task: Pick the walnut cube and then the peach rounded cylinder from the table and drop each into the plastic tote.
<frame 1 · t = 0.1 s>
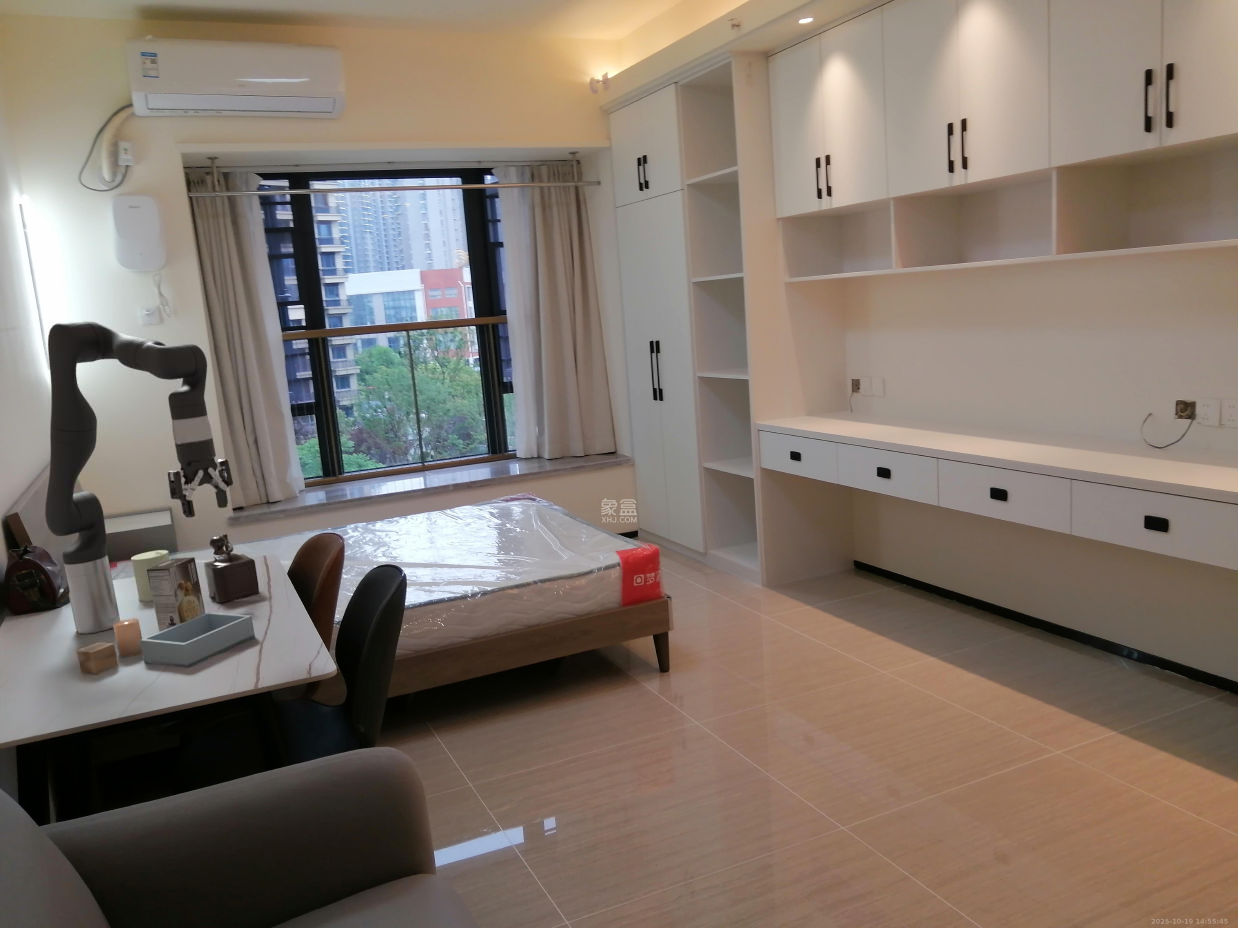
hand: (206, 512, 201), 29 cm above the table, fingers open, 8 cm apart
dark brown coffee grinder: (236, 598, 241), on the table
peach rounded cylinder: (131, 652, 204), on the table
tote: (201, 649, 202), on the table
can: (157, 596, 251), on the table
coffee box: (183, 629, 219), on the table
walnut cube: (99, 669, 196), on the table
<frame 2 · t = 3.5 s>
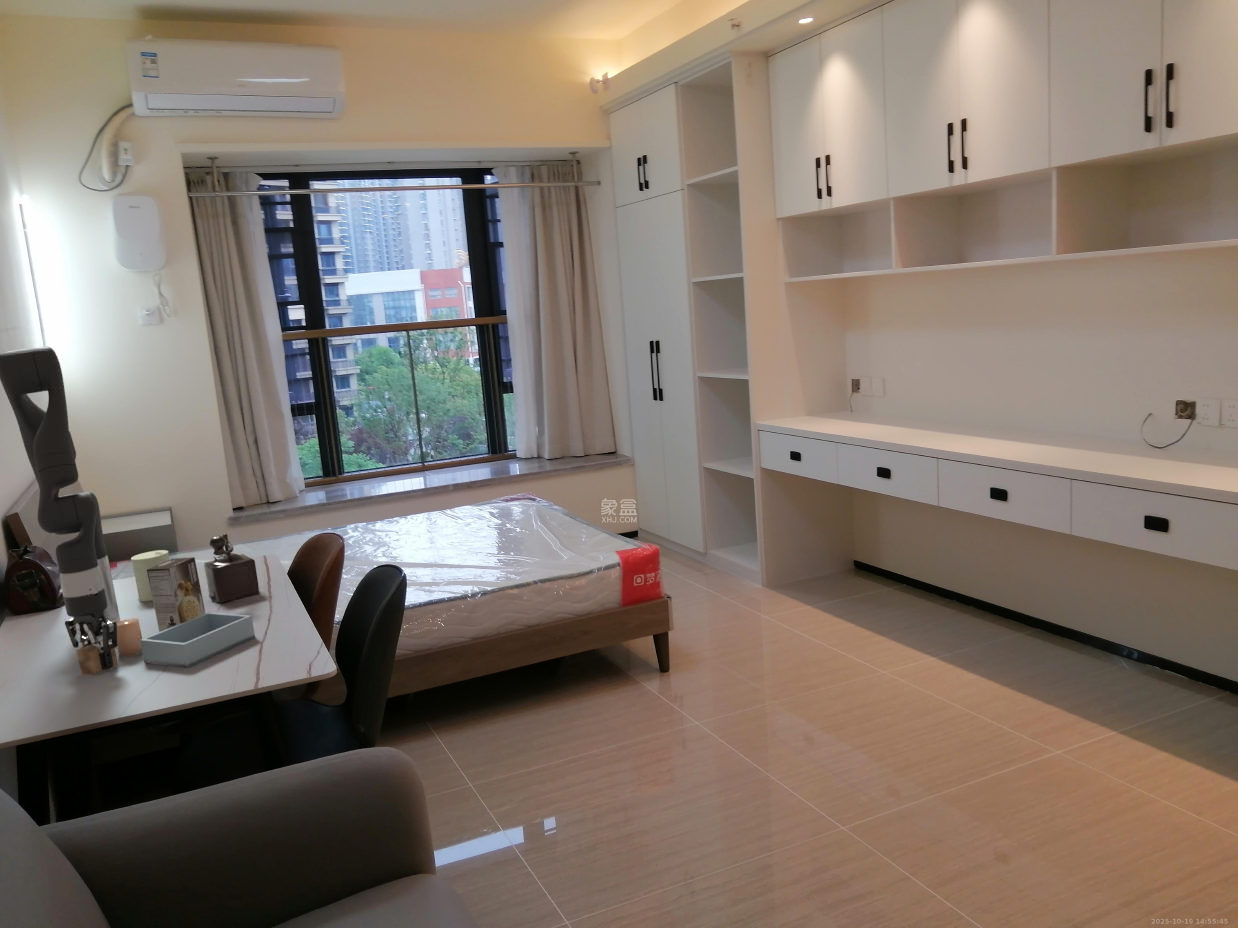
hand: (99, 666, 196), 0 cm above the table, fingers closed on walnut cube, 5 cm apart
walnut cube: (99, 669, 196), on the table, touching gripper
everything else where it was.
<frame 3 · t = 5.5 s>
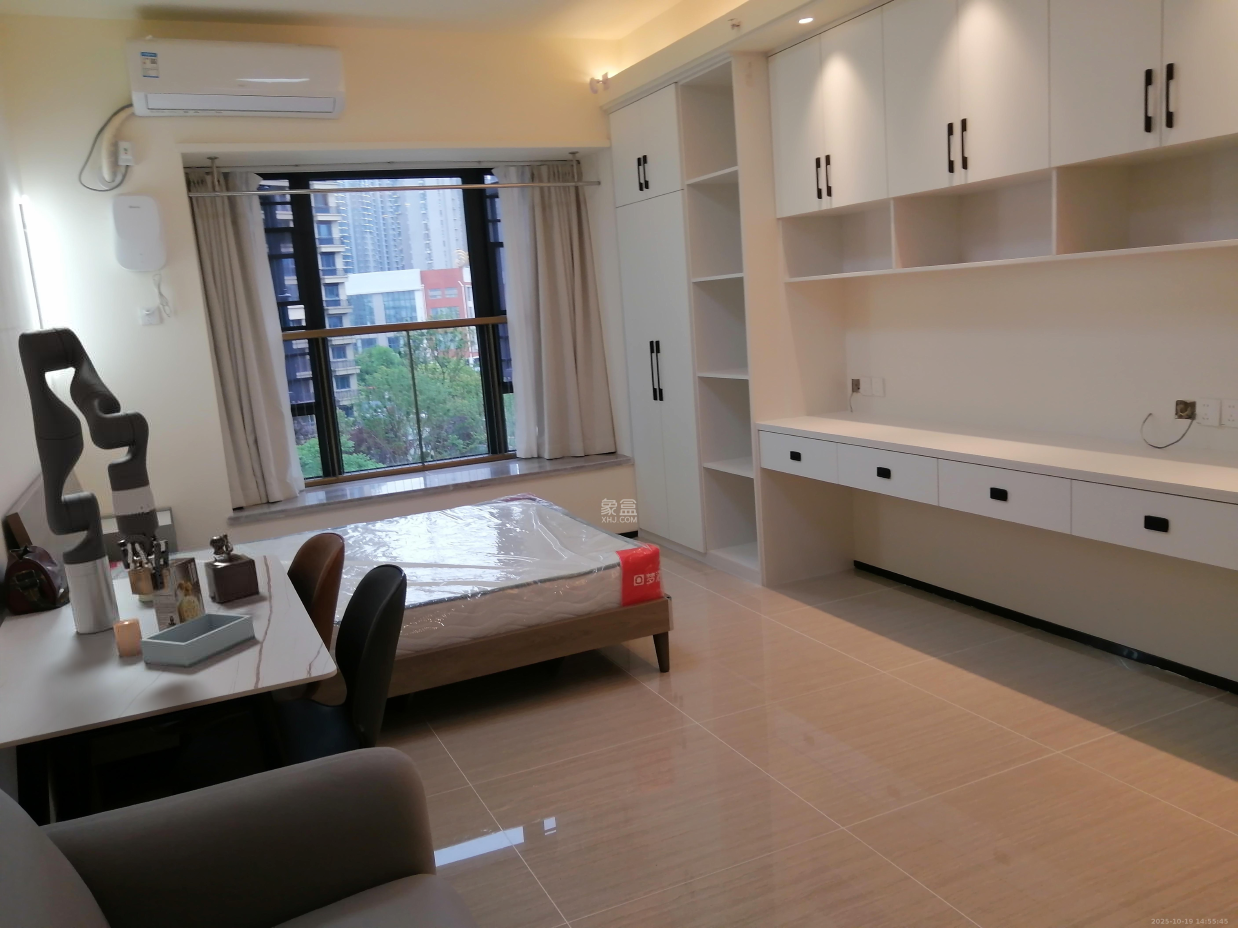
hand: (150, 588, 193), 16 cm above the table, fingers closed on walnut cube, 5 cm apart
walnut cube: (150, 591, 193), point 16 cm above the table, touching gripper
everything else where it was.
when the fingers open (5 cm above the table, at t = 7.8 s): walnut cube drops 3 cm, resting on tote.
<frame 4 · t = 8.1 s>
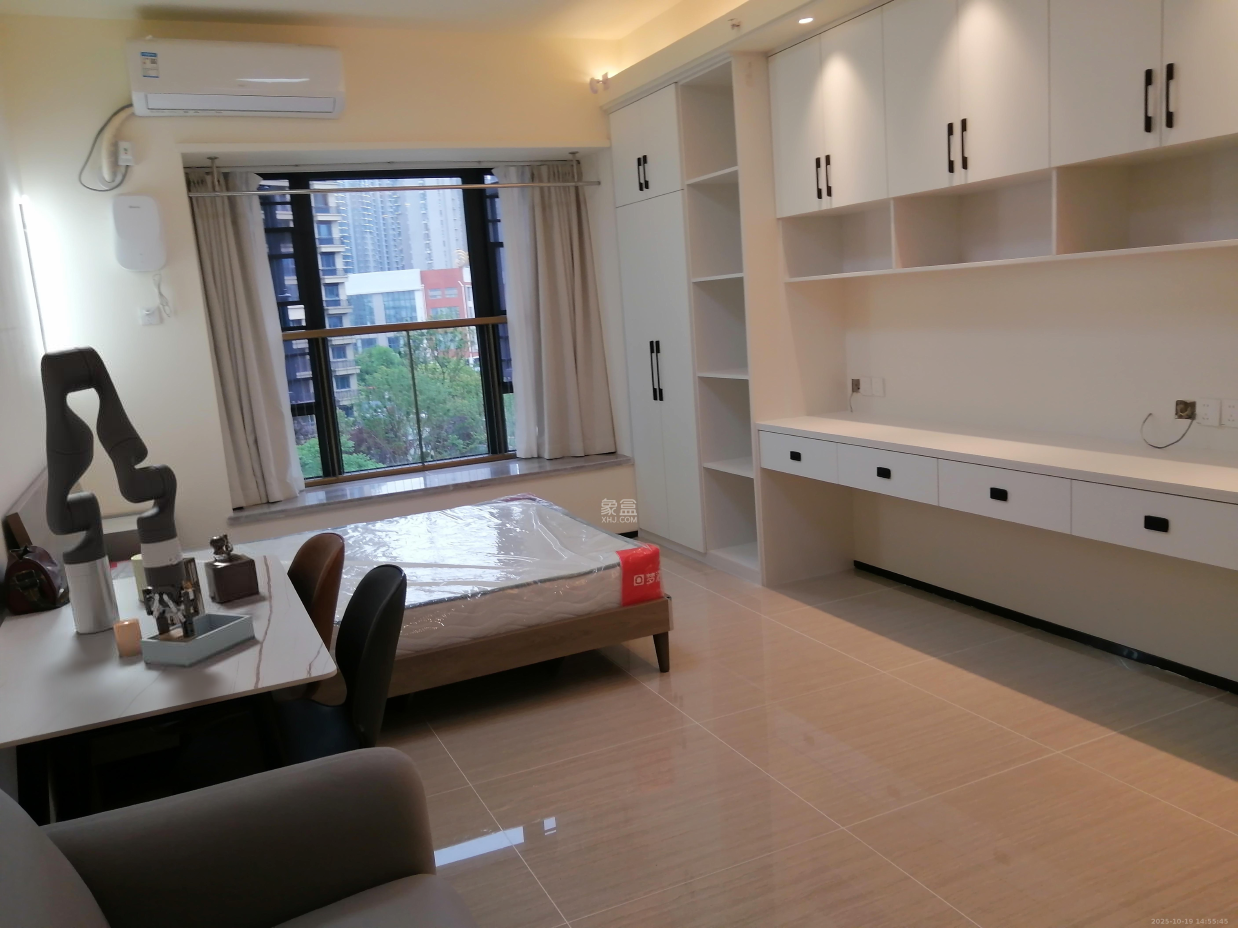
hand: (177, 635, 196), 5 cm above the table, fingers open, 7 cm apart
walnut cube: (180, 655, 197), point 1 cm above the table, touching tote
everything else where it was.
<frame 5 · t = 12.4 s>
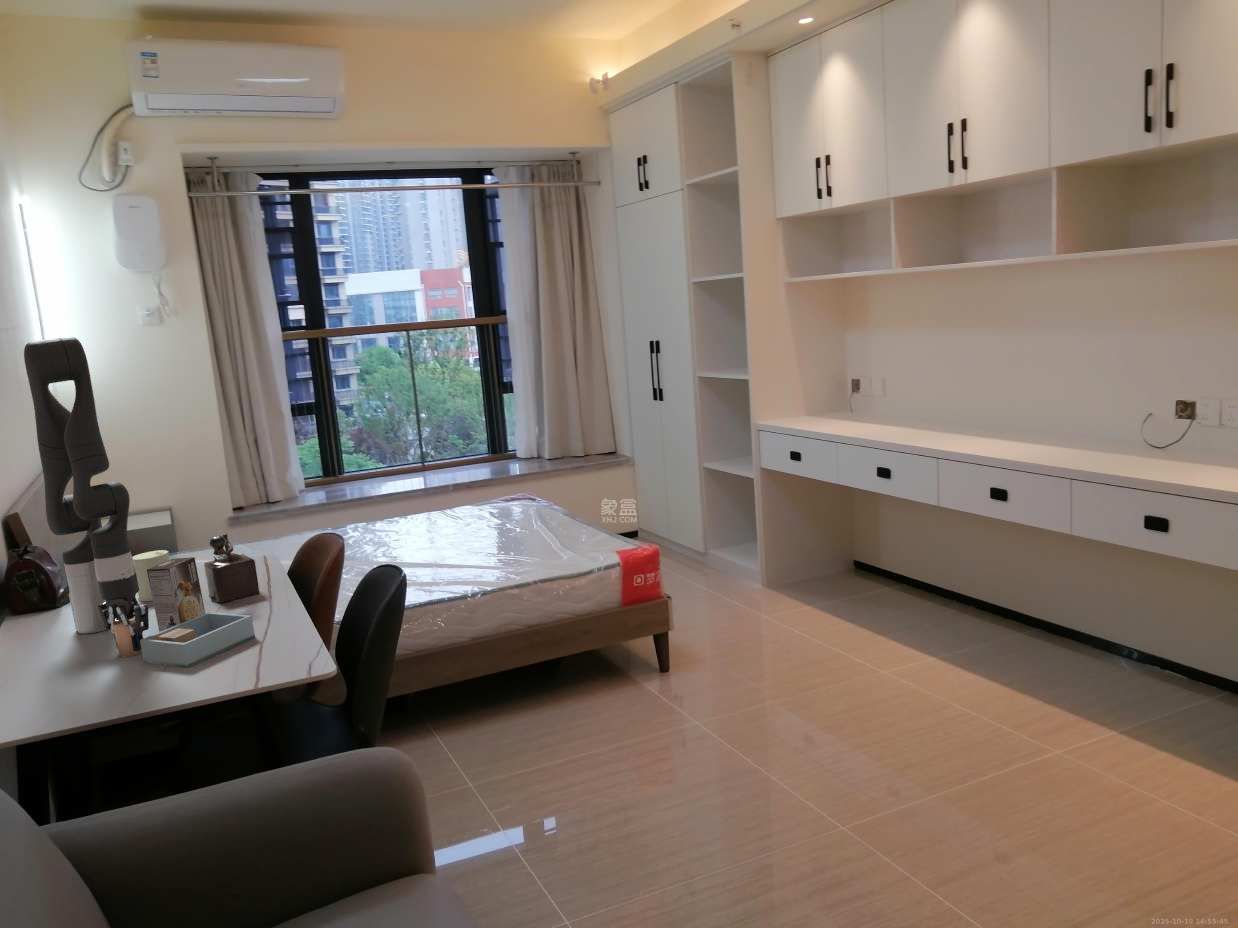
hand: (131, 648, 204), 1 cm above the table, fingers closed on peach rounded cylinder, 5 cm apart
peach rounded cylinder: (131, 652, 204), on the table, touching gripper
everything else where it was.
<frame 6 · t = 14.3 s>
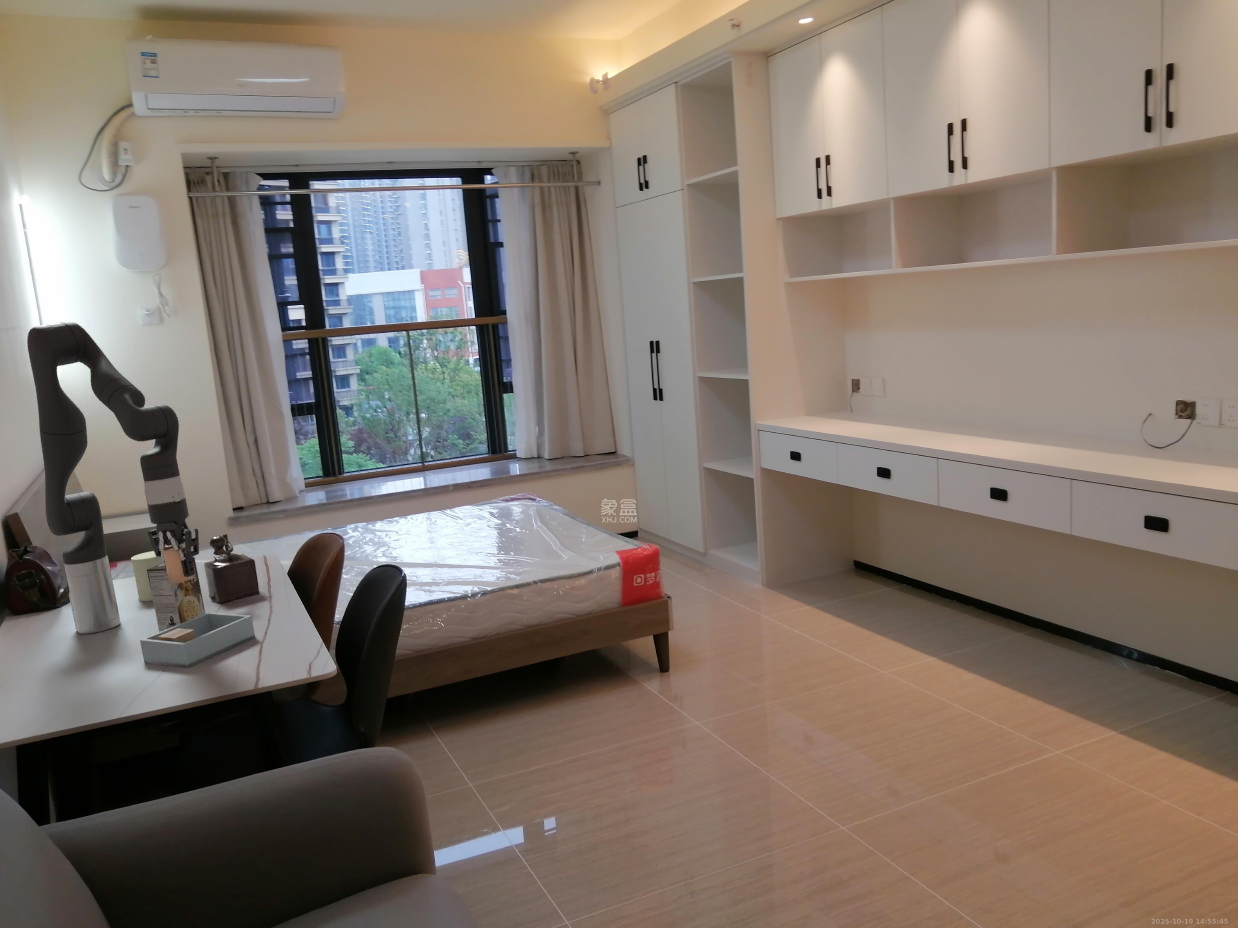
hand: (181, 575, 201), 16 cm above the table, fingers closed on peach rounded cylinder, 5 cm apart
peach rounded cylinder: (181, 579, 201), point 15 cm above the table, touching gripper
everything else where it was.
when the fingers open (5 cm above the table, at t = 16.7 s): peach rounded cylinder drops 3 cm, resting on tote.
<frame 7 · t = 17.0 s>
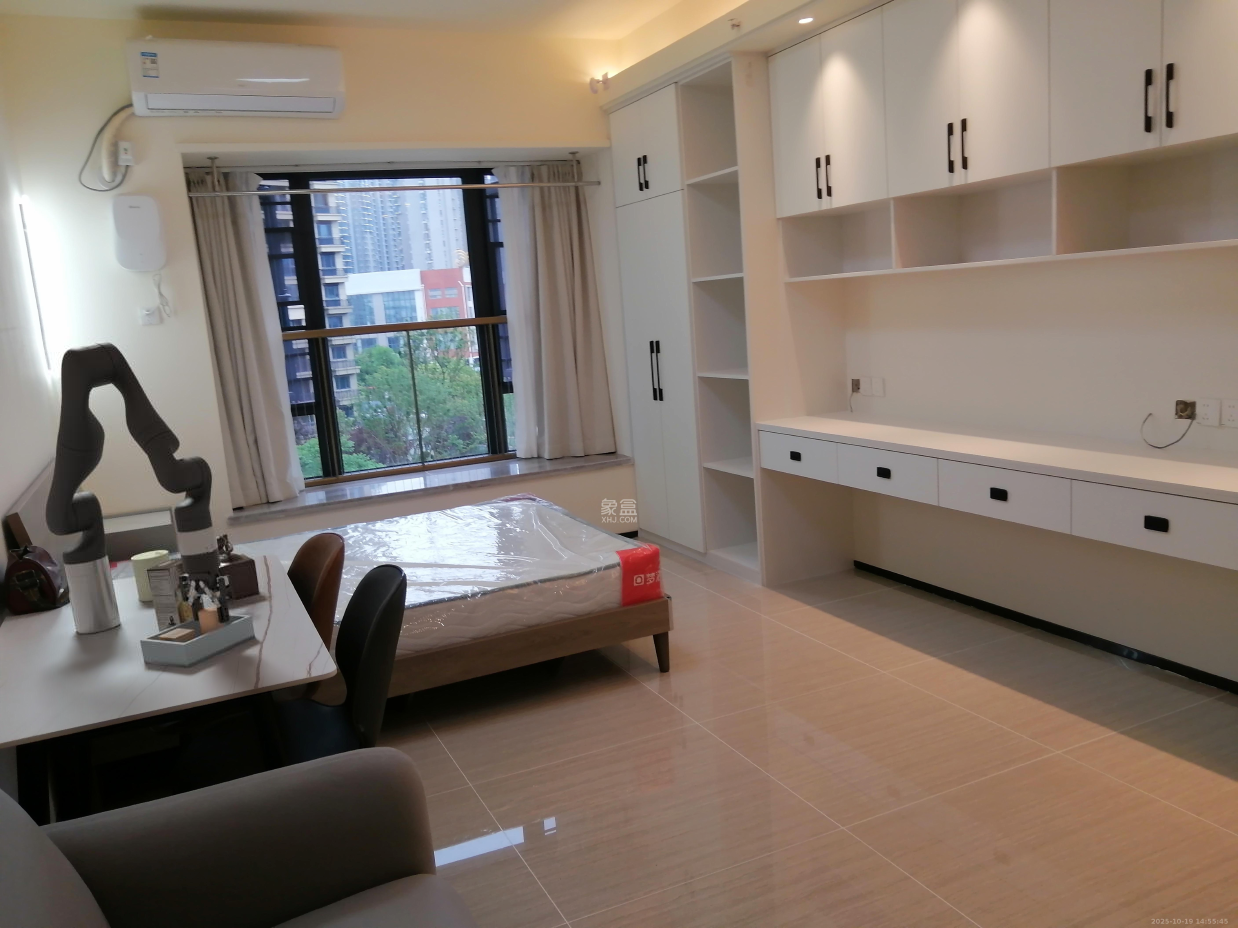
hand: (212, 620, 204), 5 cm above the table, fingers open, 7 cm apart
peach rounded cylinder: (215, 640, 205), point 1 cm above the table, touching tote
everything else where it was.
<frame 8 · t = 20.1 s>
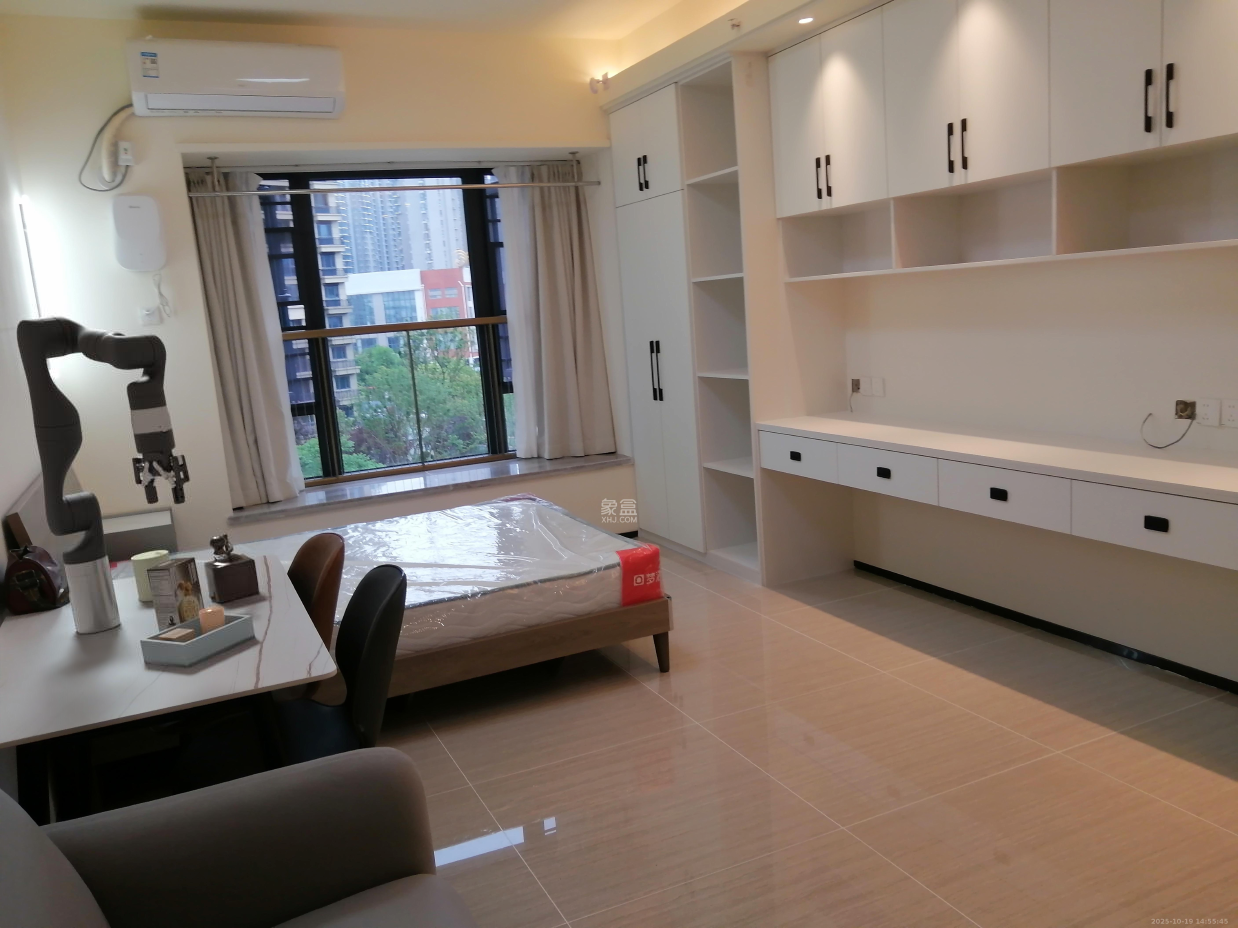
hand: (166, 503, 200), 32 cm above the table, fingers open, 8 cm apart
nothing on the table moved.
at the end: walnut cube inside the target area on the tote (5.0 cm from its centre), point 0.6 cm above the tote's base; peach rounded cylinder inside the target area on the tote (3.9 cm from its centre), point 0.7 cm above the tote's base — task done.
